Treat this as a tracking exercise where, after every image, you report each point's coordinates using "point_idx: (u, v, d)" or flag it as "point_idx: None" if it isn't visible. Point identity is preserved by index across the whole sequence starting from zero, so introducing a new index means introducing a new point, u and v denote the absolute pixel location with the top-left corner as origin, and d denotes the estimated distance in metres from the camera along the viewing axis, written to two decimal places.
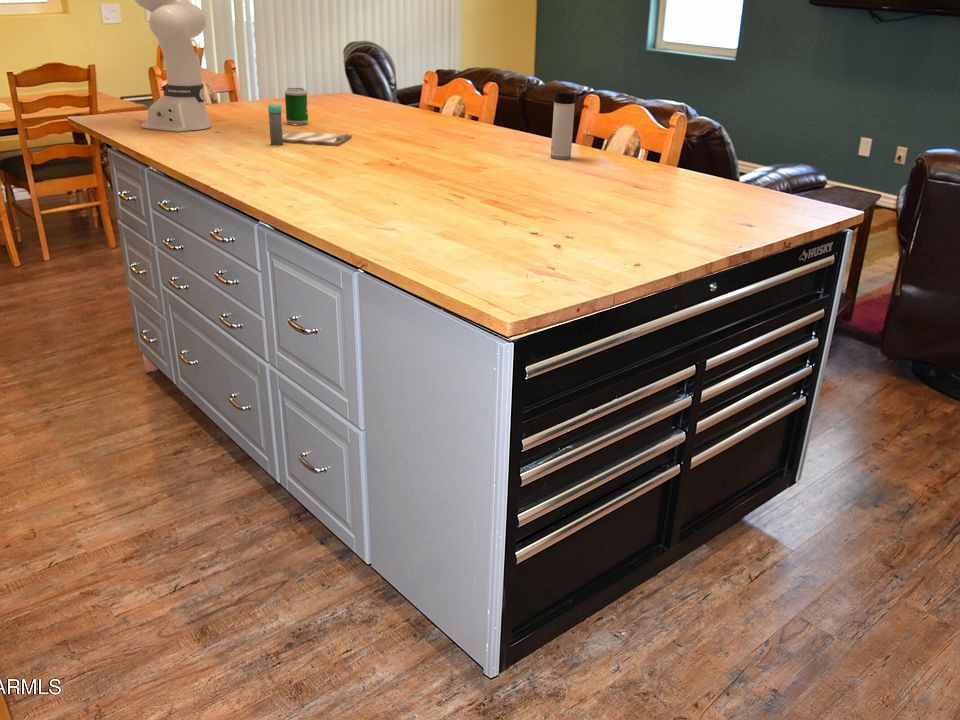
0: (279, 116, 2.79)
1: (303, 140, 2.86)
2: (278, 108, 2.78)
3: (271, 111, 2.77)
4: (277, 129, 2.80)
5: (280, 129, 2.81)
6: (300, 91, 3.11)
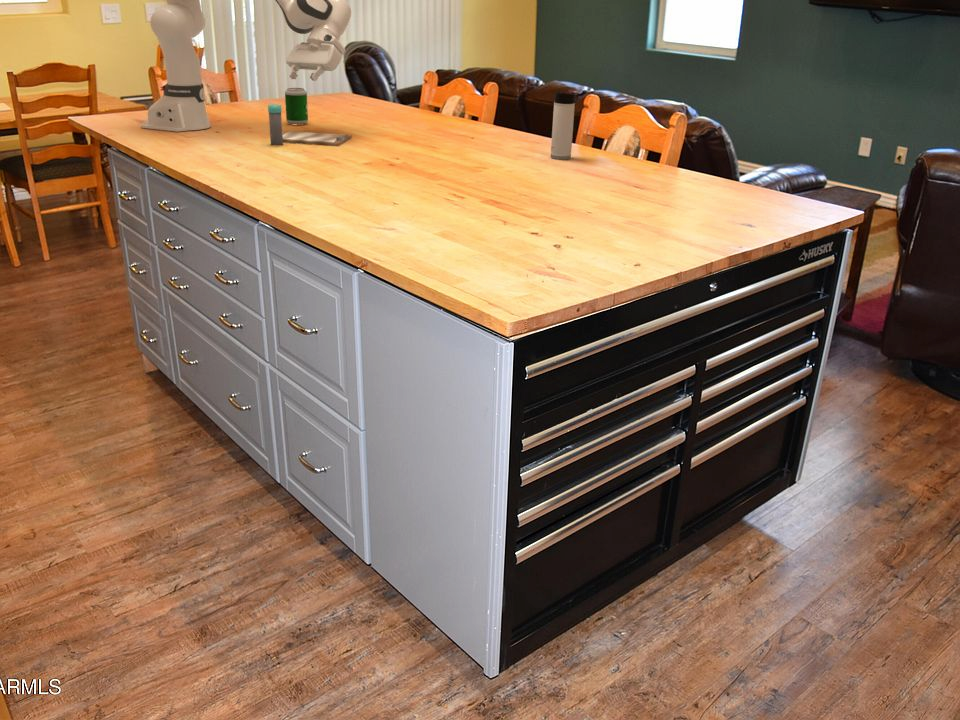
0: (279, 116, 2.79)
1: (303, 140, 2.86)
2: (278, 108, 2.78)
3: (271, 111, 2.77)
4: (277, 129, 2.80)
5: (280, 129, 2.81)
6: (300, 91, 3.11)
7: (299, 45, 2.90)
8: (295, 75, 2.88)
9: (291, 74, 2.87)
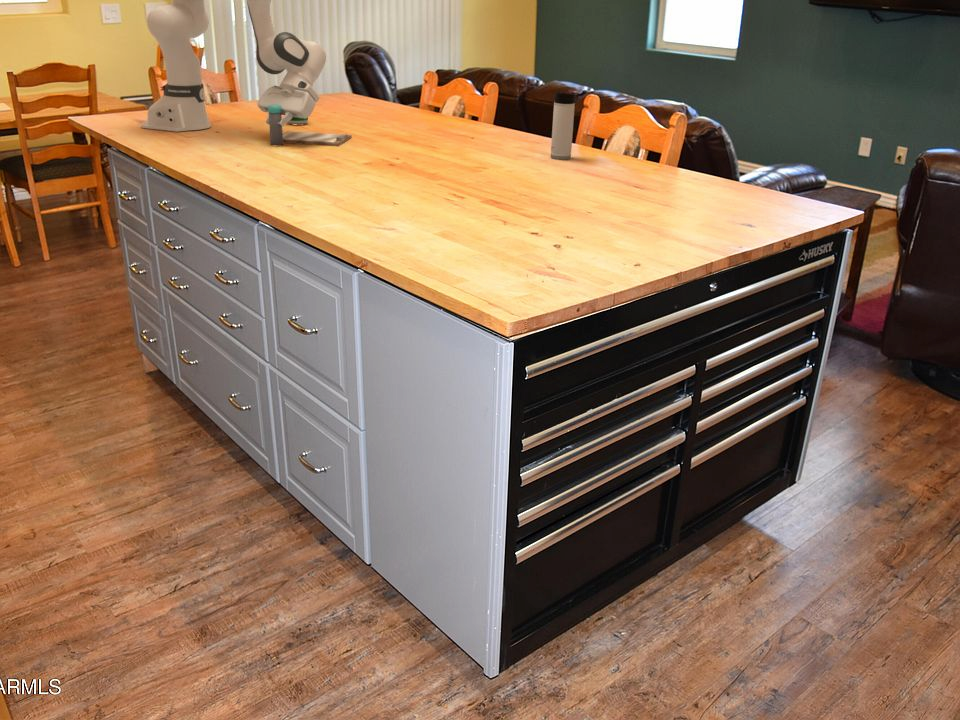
0: (279, 116, 2.79)
1: (303, 140, 2.86)
2: (278, 108, 2.78)
3: (271, 111, 2.77)
4: (277, 129, 2.80)
5: (280, 129, 2.81)
6: None
7: (271, 88, 2.85)
8: None
9: (267, 119, 2.81)
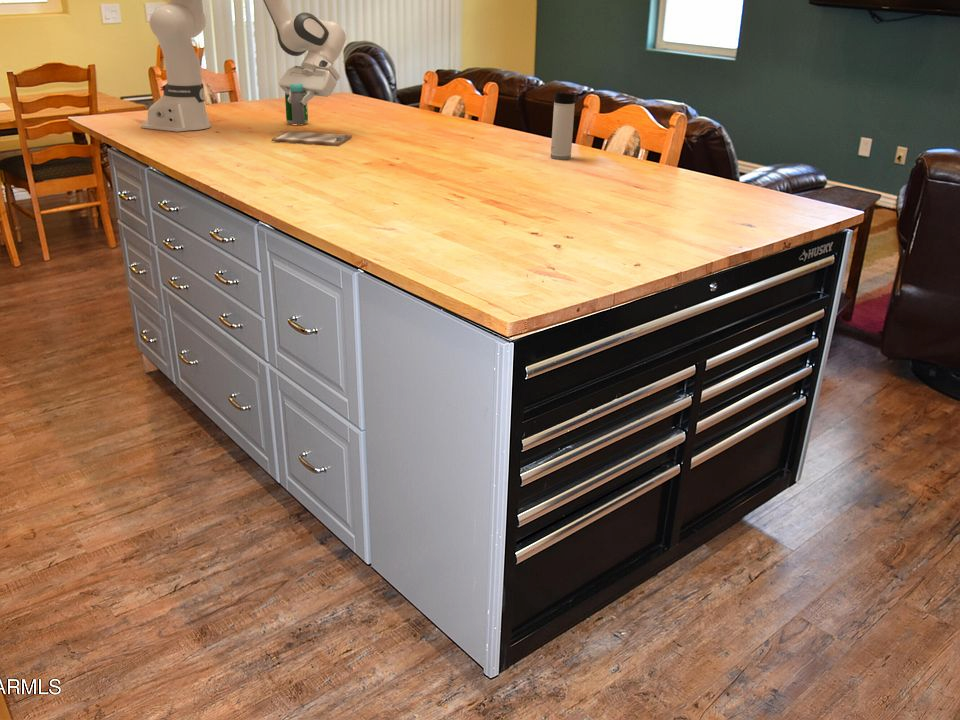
0: (301, 95, 2.84)
1: (303, 140, 2.86)
2: (300, 87, 2.83)
3: (293, 90, 2.83)
4: (299, 107, 2.85)
5: (302, 107, 2.86)
6: None
7: (293, 68, 2.91)
8: None
9: (289, 98, 2.87)
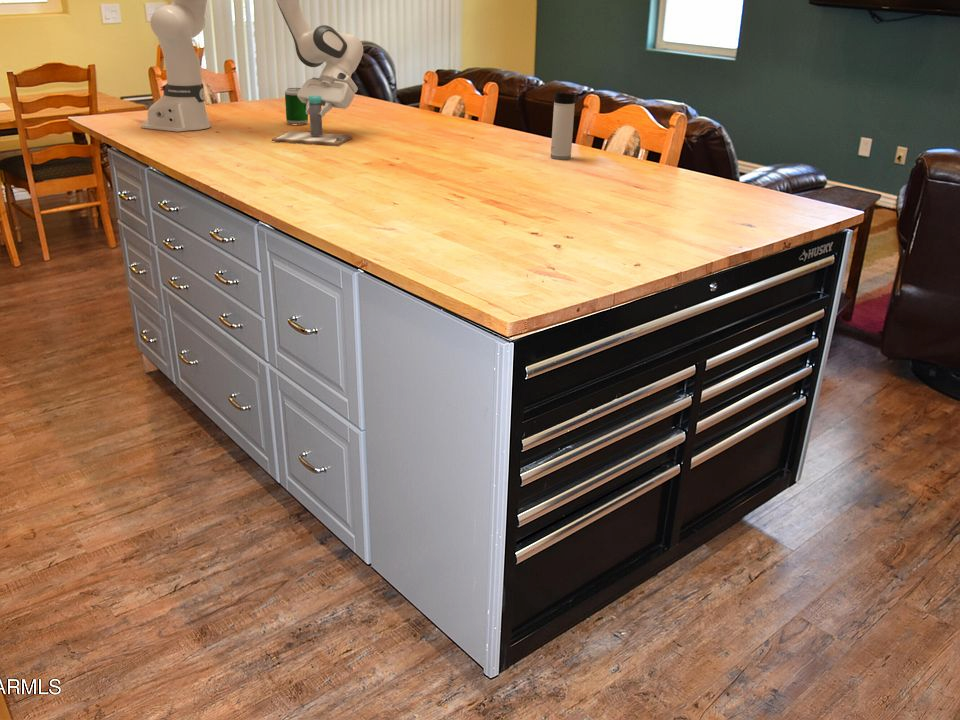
0: (319, 106, 2.87)
1: (303, 140, 2.86)
2: (319, 99, 2.86)
3: (311, 102, 2.86)
4: (317, 119, 2.88)
5: (320, 119, 2.89)
6: None
7: (311, 80, 2.94)
8: None
9: (307, 110, 2.90)
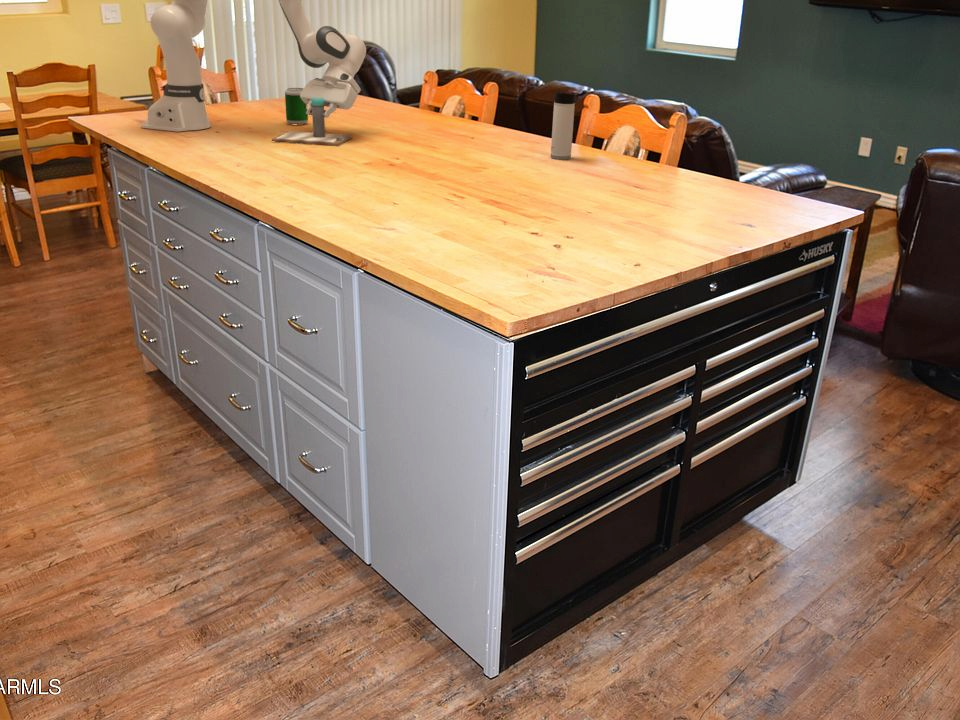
0: (322, 109, 2.88)
1: (303, 140, 2.86)
2: (322, 101, 2.87)
3: (314, 104, 2.87)
4: (319, 121, 2.89)
5: (323, 121, 2.90)
6: (300, 91, 3.11)
7: (313, 81, 2.94)
8: None
9: (309, 110, 2.90)
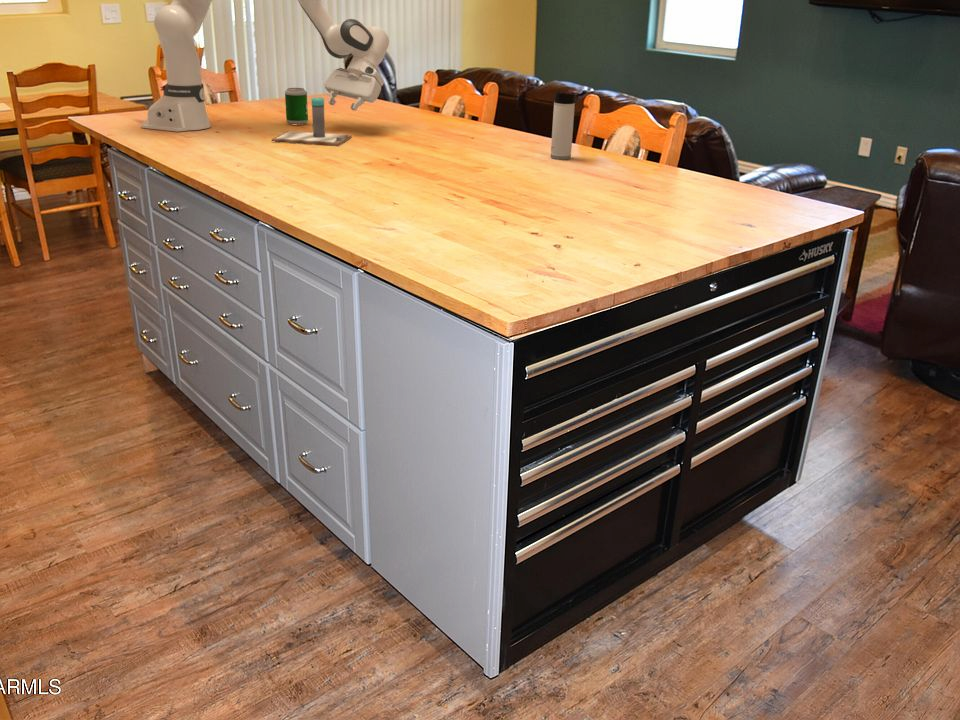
0: (322, 109, 2.88)
1: (303, 140, 2.86)
2: (322, 101, 2.87)
3: (314, 104, 2.87)
4: (319, 121, 2.89)
5: (323, 121, 2.90)
6: (300, 91, 3.11)
7: (338, 71, 3.03)
8: (334, 101, 3.01)
9: (330, 100, 3.01)
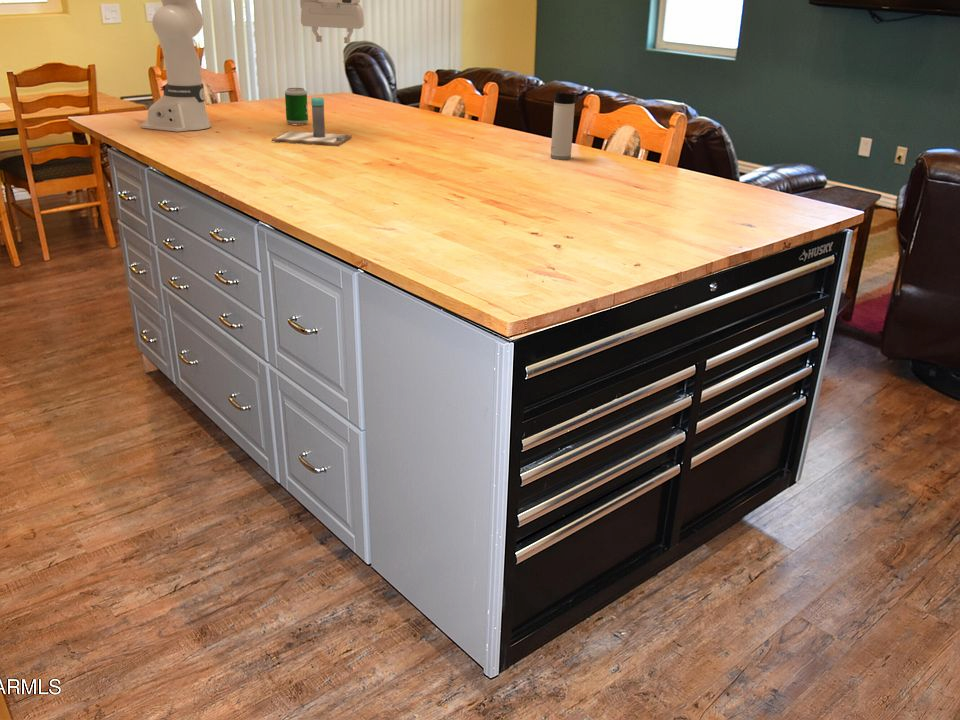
0: (322, 108, 2.88)
1: (303, 140, 2.86)
2: (321, 101, 2.87)
3: (314, 104, 2.87)
4: (319, 121, 2.89)
5: (323, 121, 2.90)
6: (300, 91, 3.11)
7: (308, 4, 2.86)
8: (320, 38, 2.92)
9: (318, 39, 2.91)
